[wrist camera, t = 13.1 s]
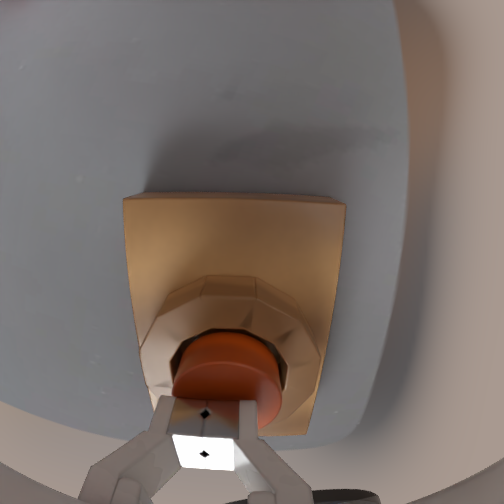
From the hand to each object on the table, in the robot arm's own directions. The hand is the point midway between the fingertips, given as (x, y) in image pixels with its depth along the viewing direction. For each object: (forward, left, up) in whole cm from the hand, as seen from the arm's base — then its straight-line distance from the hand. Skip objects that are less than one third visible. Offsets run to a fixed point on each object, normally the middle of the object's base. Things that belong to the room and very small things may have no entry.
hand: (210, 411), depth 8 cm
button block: (0, -1, -6) cm, 6 cm away
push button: (0, -1, -2) cm, 2 cm away
